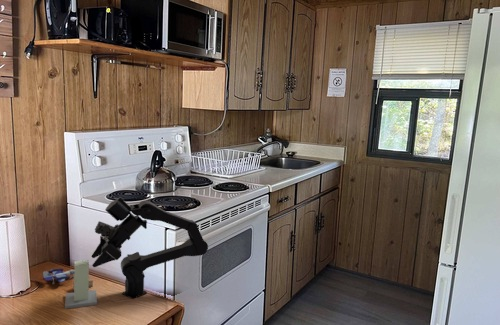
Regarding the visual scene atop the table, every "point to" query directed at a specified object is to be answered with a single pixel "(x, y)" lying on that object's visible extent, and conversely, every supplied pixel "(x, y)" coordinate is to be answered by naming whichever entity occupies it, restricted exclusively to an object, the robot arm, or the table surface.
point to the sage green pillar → (81, 280)
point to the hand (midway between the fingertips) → (92, 261)
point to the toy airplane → (57, 275)
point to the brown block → (89, 283)
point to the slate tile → (73, 304)
